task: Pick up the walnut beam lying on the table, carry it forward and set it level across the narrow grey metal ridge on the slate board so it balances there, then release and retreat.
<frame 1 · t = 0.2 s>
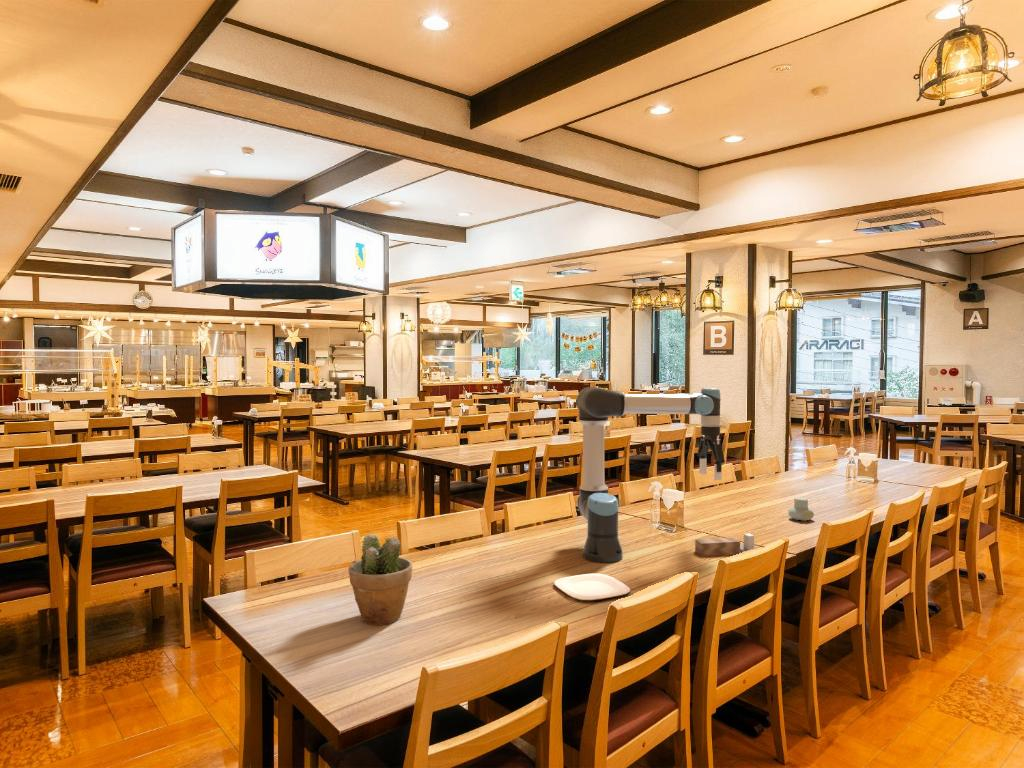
hand: (710, 477, 259), 27 cm above the table, fingers open, 13 cm apart
plate: (591, 590, 207), on the table
potted plant: (381, 618, 185), on the table
air freshener: (800, 520, 297), on the table
beam: (717, 553, 247), on the table
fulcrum: (748, 551, 248), on the table
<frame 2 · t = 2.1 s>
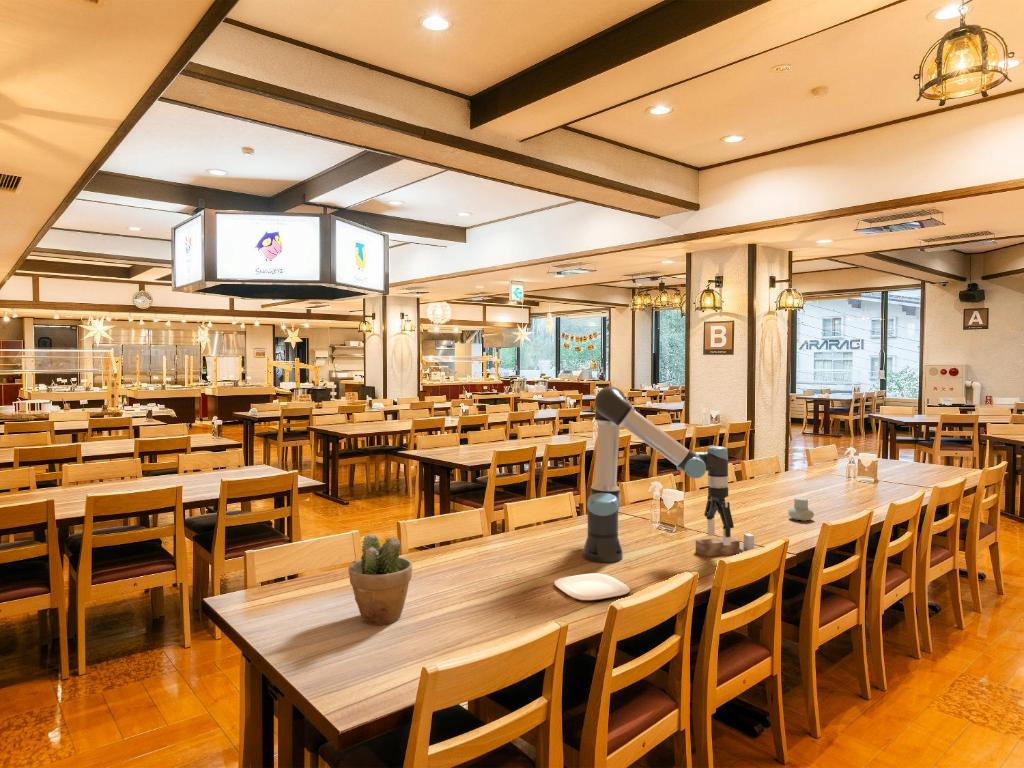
hand: (718, 540, 246), 5 cm above the table, fingers open, 13 cm apart
nothing on the table moved.
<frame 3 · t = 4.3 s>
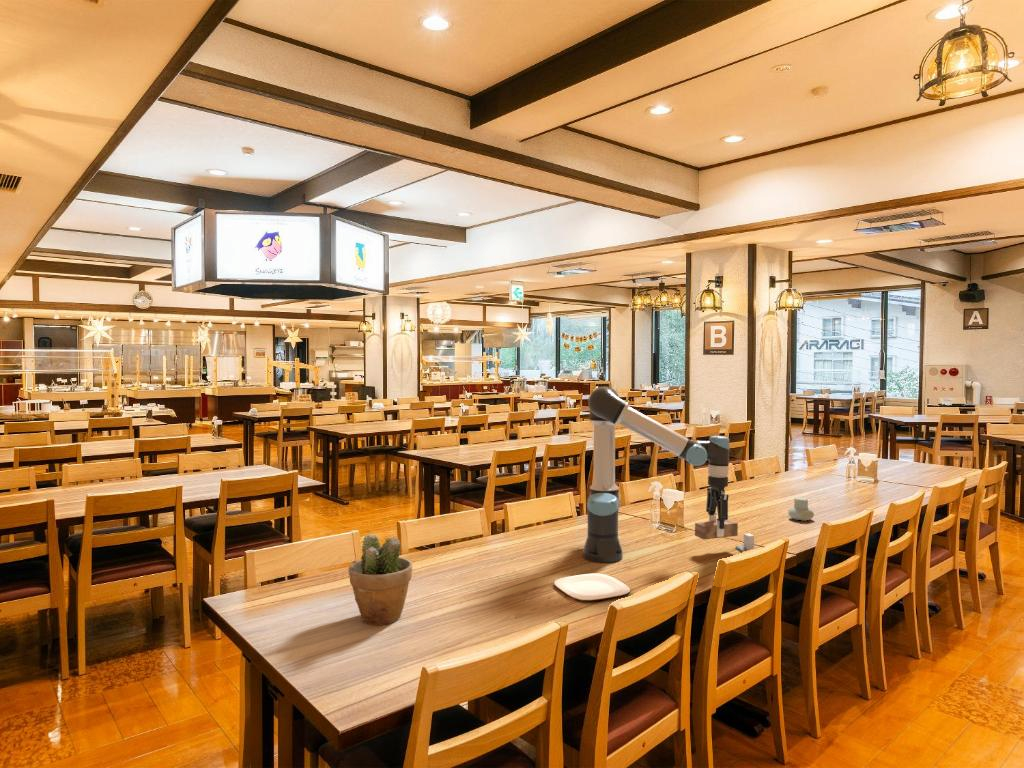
hand: (715, 534, 246), 7 cm above the table, fingers closed on beam, 6 cm apart
beam: (716, 535, 247), point 7 cm above the table, touching gripper
everything else where it was.
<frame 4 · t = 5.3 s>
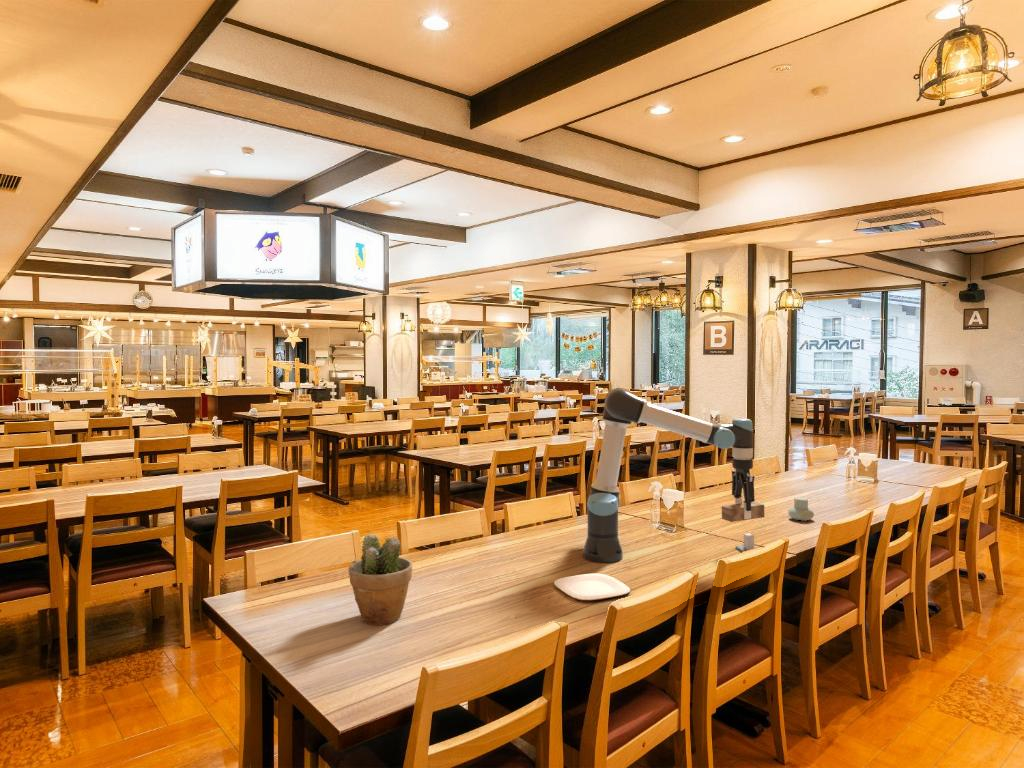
hand: (742, 516, 247), 14 cm above the table, fingers closed on beam, 6 cm apart
beam: (743, 518, 247), point 13 cm above the table, touching gripper
everything else where it was.
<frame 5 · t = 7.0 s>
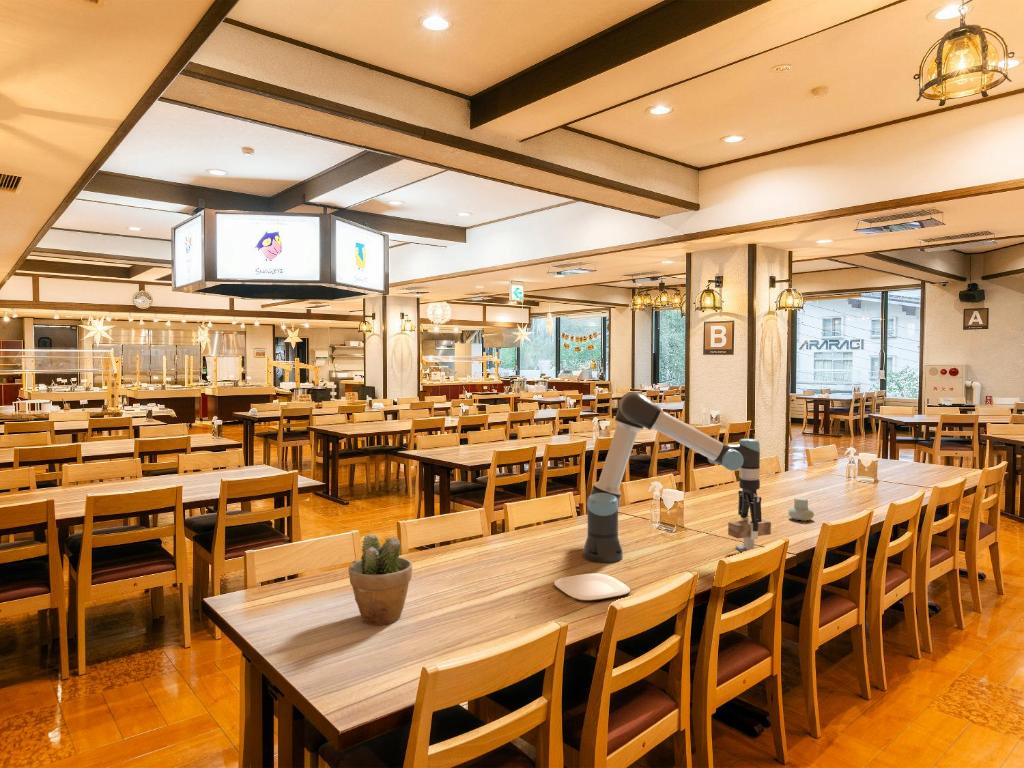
hand: (749, 536, 248), 6 cm above the table, fingers closed on beam, 6 cm apart
beam: (749, 534, 248), point 7 cm above the table, touching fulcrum, gripper
everything else where it was.
when the fingers open (6 cm above the table, at t = 7.3 s): beam stays where it is, resting on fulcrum.
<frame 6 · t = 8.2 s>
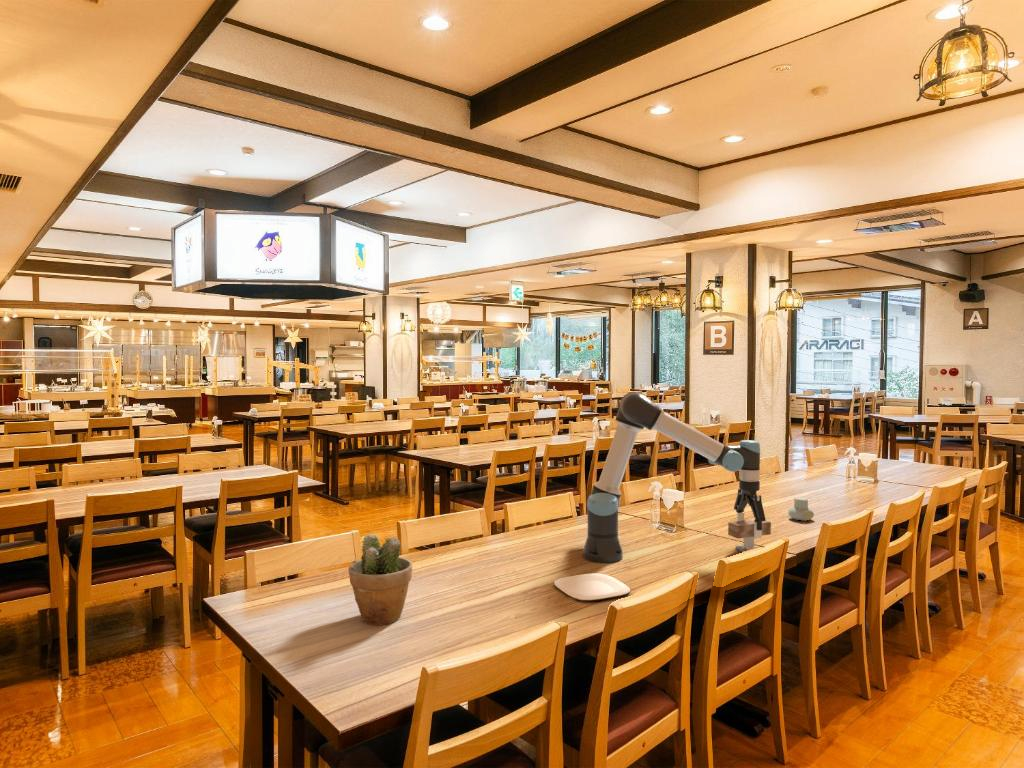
hand: (748, 533, 248), 7 cm above the table, fingers open, 13 cm apart
beam: (749, 534, 248), point 6 cm above the table, touching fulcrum
everything else where it was.
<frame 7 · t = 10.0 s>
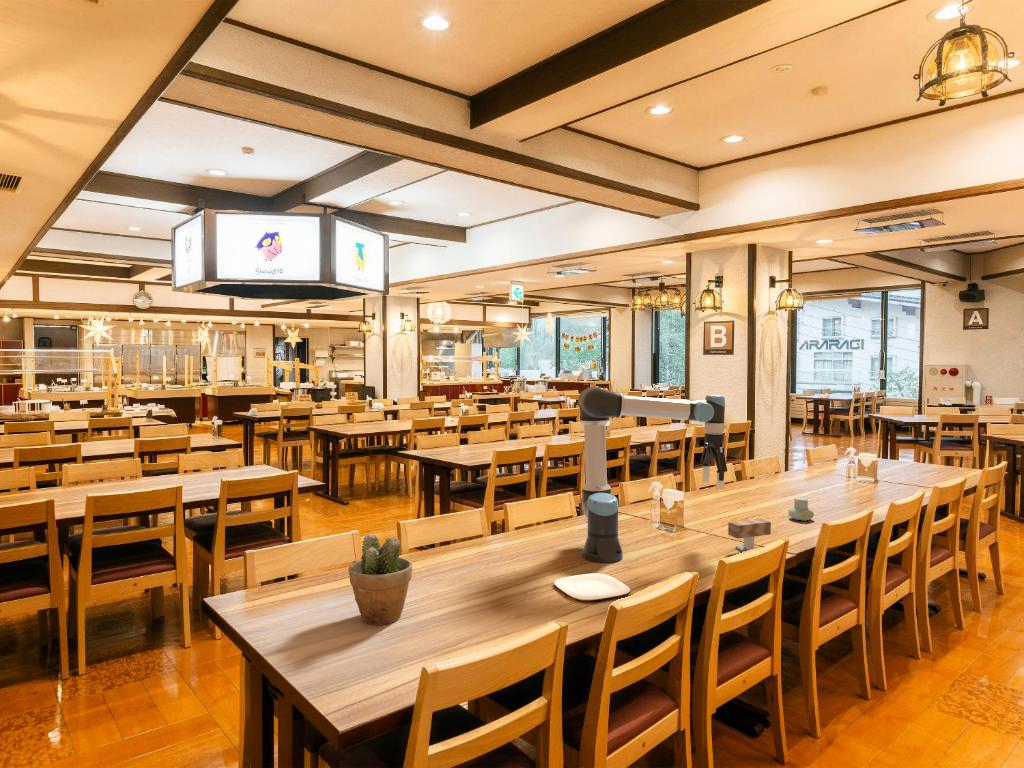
hand: (712, 485, 255), 25 cm above the table, fingers open, 13 cm apart
nothing on the table moved.
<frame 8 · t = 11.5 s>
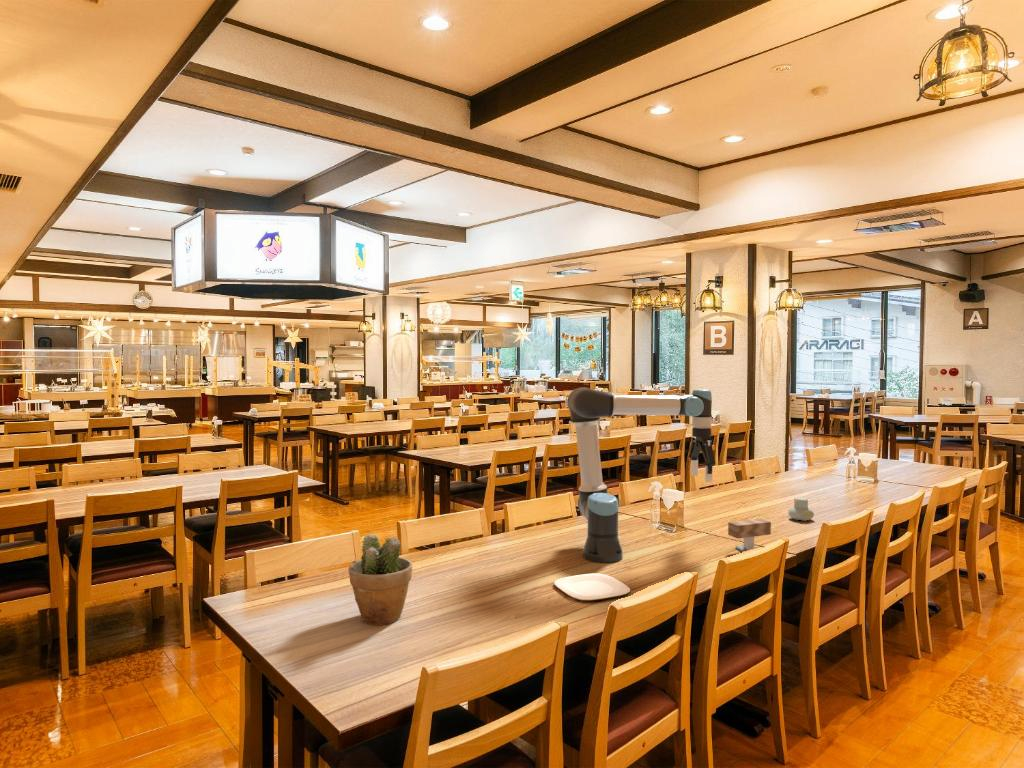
hand: (701, 478, 258), 27 cm above the table, fingers open, 13 cm apart
nothing on the table moved.
at the end: beam 0.2 cm off-centre on the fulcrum, point 6.5 cm above the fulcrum's base; beam tilted 0°; the gripper is holding nothing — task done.
